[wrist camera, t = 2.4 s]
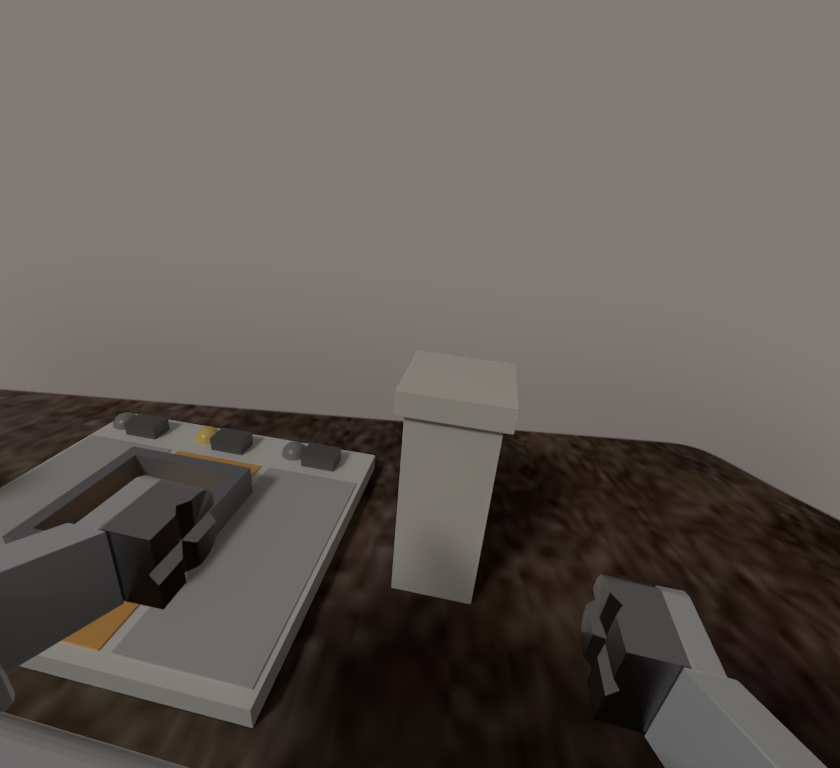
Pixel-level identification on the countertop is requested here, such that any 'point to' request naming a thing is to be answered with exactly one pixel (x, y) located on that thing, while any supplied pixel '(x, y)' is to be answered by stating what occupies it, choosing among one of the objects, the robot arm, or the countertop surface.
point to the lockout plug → (448, 468)
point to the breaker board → (218, 574)
